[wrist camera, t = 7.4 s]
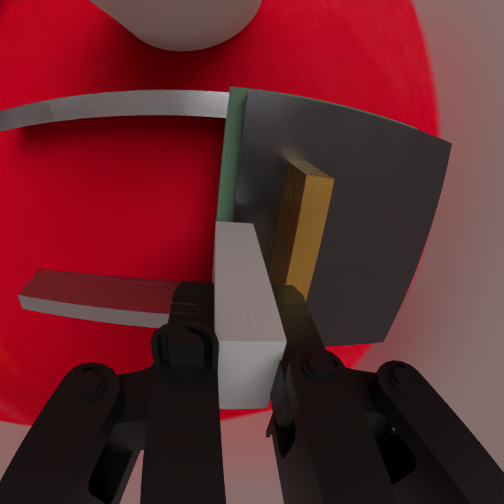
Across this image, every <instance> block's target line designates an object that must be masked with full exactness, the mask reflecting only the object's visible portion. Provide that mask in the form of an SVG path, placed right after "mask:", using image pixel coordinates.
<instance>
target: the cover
mask: <svg viewBox="0 0 504 504" xmlns="http://www.w3.org/2000/svg"><path fill="white" fill-rule="evenodd" d="M451 145H452V144H451V143H449V142H447V141H445V140H442V139H440V138H437V137H435V136H432V135H430V134H427V133H425V132H422V131H419V130H417V129H414V128H411V127H408V126H406V125H403V124H400V123H397V122H394V121H391V120H388V119H384V118H381V117H378V116H375V115H371V114H368V113H364V112H361V111H357V110H353V109H349V108H345V107H341V106H337V105H333V104H329V103H324V102H319V101H315V100H310V99H305V98H299V97H294V96H288V95H282V94H275V93H268V92H261V91H253V90H248V91H247V92H246V100H245V108H244V116H243V125H242V133H241V142H240V150H239V159H238V168H237V177H236V187H235V196H234V206H233V216H232V222H236V223H251V224H253V225H254V229H255V232H256V235H257V239H258V242H259V246H260V249H261V253H262V256H263V260H264V263H265V267H266V270H267V274H268V277H269V280H270V284H277V285H293V286H294V287H295V288H296V289H297V290H299V291H300V292H301V293H302V294H303V297H304V299H305V301H306V304H307V307H308V308H309V311H310V313H311V316H312V318H313V320H314V323H315V325H316V328H317V330H318V333H319V335H320V337H321V340H322V342H323V345H324V346H341V345H355V344H368V343H378V342H383V341H384V340H385V338H386V336H387V334H388V332H389V330H390V327H391V326H392V324H393V321H394V319H395V317H396V315H397V313H398V311H399V309H400V306H401V304H402V302H403V300H404V297H405V295H406V293H407V290H408V288H409V285H410V283H411V281H412V278H413V276H414V273H415V271H416V268H417V265H418V263H419V260H420V257H421V255H422V252H423V249H424V246H425V243H426V240H427V237H428V234H429V231H430V228H431V225H432V222H433V219H434V215H435V212H436V208H437V205H438V201H439V198H440V194H441V190H442V186H443V182H444V177H445V174H446V169H447V165H448V160H449V155H450V150H451Z"/></svg>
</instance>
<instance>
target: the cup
mask: <svg viewBox="0 0 504 504" xmlns="http://www.w3.org/2000/svg"><path fill="white" fill-rule="evenodd" d="M89 1H91V2H92V3H93V4H95V5H96V6H98V7H99V8H100V9H102V10H103V11H104V12H106V13H107V14H108V15H110V16H111V17H112V18H114V19H115V20H116V21H117V22H119V23H120V24H121V25H123V26H124V27H125V28H126V29H128V30H129V31H130V32H131V33H133V34H134V35H135V36H136V37H137V38H139V39H140V40H141V41H143V42H145V43H146V44H148V45H150V46H153V47H156V48H159V49H163V50H168V51H194V50H200V49H205V48H209V47H212V46H215V45H218V44H220V43H222V42H224V41H226V40H228V39H230V38H232V37H233V36H235V35H236V34H238V33H239V32H240V31H242V30H243V29H244V28H245V27H246V26H247V25H248V24H249V23H250V22H251V20H252V19H253V18H254V16H255V15H256V13H257V11H258V9H259V7H260V4H261V2H262V0H89Z"/></svg>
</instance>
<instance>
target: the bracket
mask: <svg viewBox="0 0 504 504" xmlns="http://www.w3.org/2000/svg"><path fill="white" fill-rule="evenodd" d="M228 100H229V93H228V92H215V91H196V90H136V91H118V92H105V93H95V94H86V95H78V96H71V97H64V98H58V99H52V100H47V101H41V102H36V103H32V104H27V105H23V106H18V107H14V108H10V109H6V110H3V111H0V131H4V130H9V129H13V128H18V127H24V126H29V125H35V124H42V123H48V122H56V121H63V120H72V119H82V118H93V117H108V116H130V115H182V116H205V117H220V118H226V117H227V109H228ZM181 283H182V282H178V281H163V280H150V279H137V278H125V277H113V276H102V275H92V274H81V273H72V272H62V271H53V270H44V269H39V270H38V272H37V273H36V274H35V275H34V276H33V277H32V279H31V280H30V281H29V282H28V283H27V284H26V286H25V287H24V288H23V289H22V290H21V292H20V293H19V294H18V297H19V300H20V302H21V305H22V308H23V309H28V310H33V311H38V312H43V313H48V314H54V315H60V316H66V317H72V318H78V319H85V320H92V321H99V322H106V323H114V324H123V325H132V326H141V327H152V328H160V327H161V326H162V325H164V324H167V323H168V319H169V314H170V309H171V304H172V299H173V294H174V290H175V289H176V288H177V287H178V286H179V285H180V284H181Z"/></svg>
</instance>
